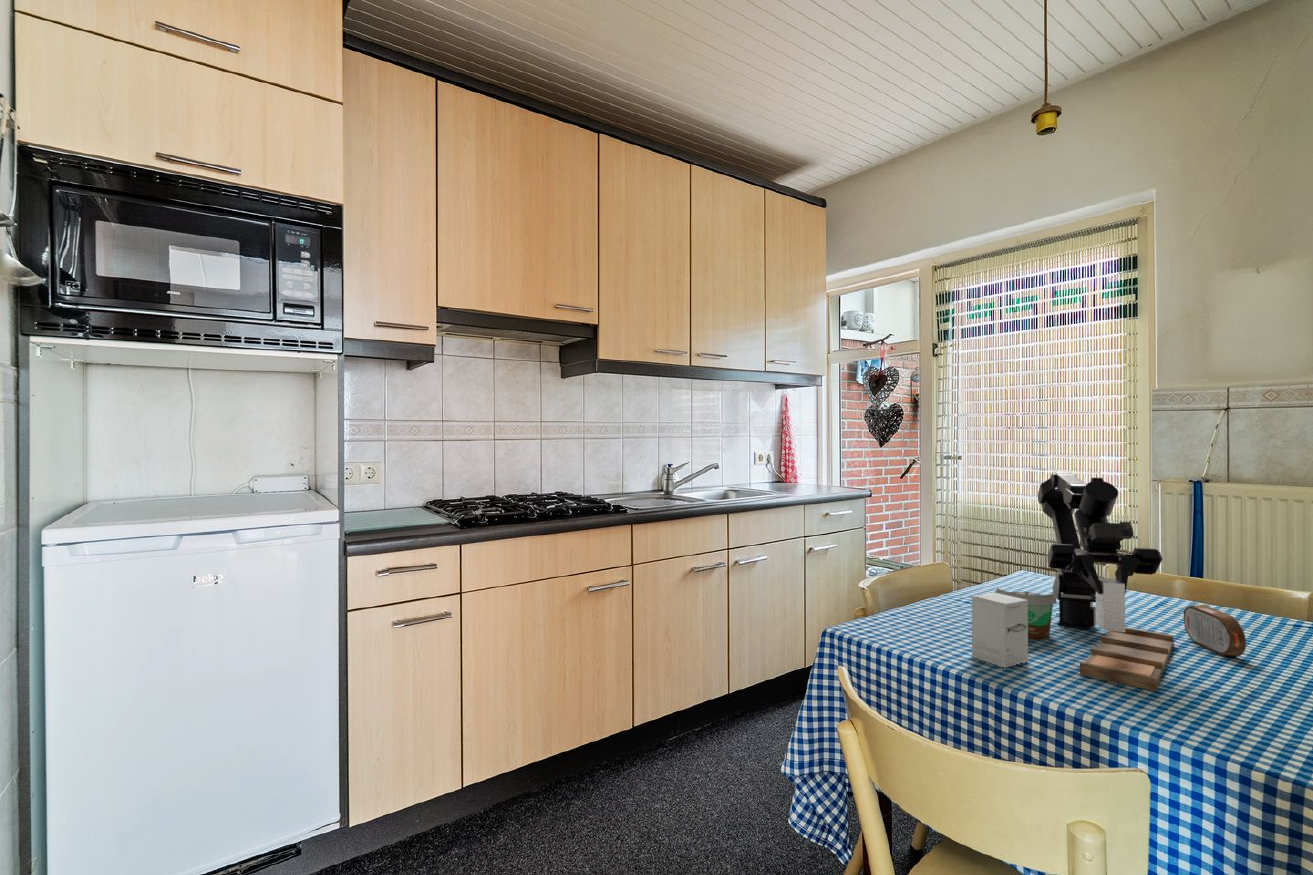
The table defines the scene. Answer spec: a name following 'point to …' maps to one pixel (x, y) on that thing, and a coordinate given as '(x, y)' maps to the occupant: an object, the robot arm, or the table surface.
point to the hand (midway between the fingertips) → (1112, 593)
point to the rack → (1130, 658)
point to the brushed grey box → (1111, 605)
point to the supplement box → (1000, 629)
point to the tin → (1214, 630)
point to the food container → (1036, 612)
